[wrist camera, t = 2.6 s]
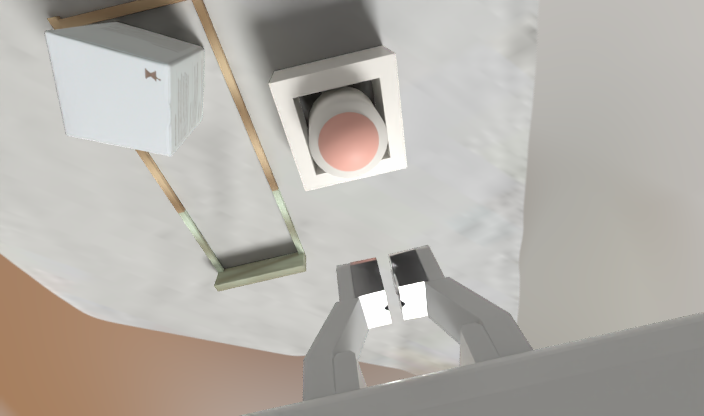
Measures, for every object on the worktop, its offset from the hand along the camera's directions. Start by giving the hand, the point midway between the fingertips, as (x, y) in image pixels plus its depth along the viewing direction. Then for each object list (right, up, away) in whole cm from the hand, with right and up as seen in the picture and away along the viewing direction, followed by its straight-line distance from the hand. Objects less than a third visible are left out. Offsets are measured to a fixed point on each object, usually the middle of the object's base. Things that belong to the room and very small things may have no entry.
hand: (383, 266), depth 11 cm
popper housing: (-2, +11, +16) cm, 19 cm away
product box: (-16, +13, +13) cm, 24 cm away
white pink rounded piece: (-2, +9, +14) cm, 17 cm away
